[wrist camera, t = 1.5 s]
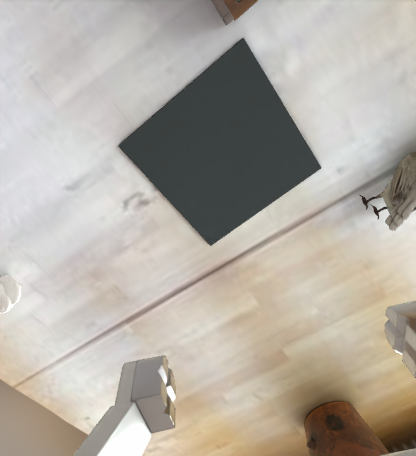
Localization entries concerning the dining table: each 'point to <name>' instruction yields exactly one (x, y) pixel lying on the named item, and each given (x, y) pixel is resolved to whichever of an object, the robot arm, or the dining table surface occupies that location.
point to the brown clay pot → (340, 432)
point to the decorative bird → (399, 193)
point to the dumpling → (8, 293)
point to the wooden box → (232, 8)
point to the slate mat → (223, 146)
